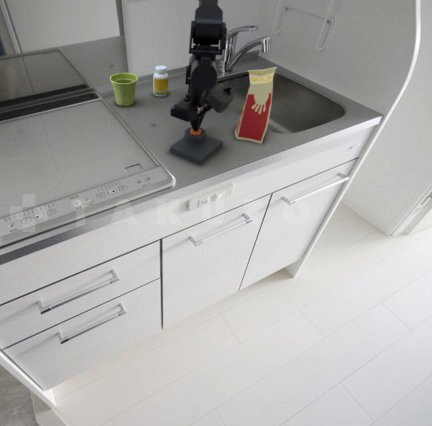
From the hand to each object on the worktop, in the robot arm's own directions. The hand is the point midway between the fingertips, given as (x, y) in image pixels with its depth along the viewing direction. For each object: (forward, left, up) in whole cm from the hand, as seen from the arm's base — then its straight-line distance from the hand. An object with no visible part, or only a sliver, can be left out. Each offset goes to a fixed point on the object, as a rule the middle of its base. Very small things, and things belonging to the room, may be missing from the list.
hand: (195, 130), depth 87 cm
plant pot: (-7, -33, -4) cm, 34 cm away
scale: (+3, +3, -4) cm, 5 cm away
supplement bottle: (-21, -28, -4) cm, 36 cm away
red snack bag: (-15, +11, -4) cm, 19 cm away
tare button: (0, 0, -2) cm, 2 cm away
